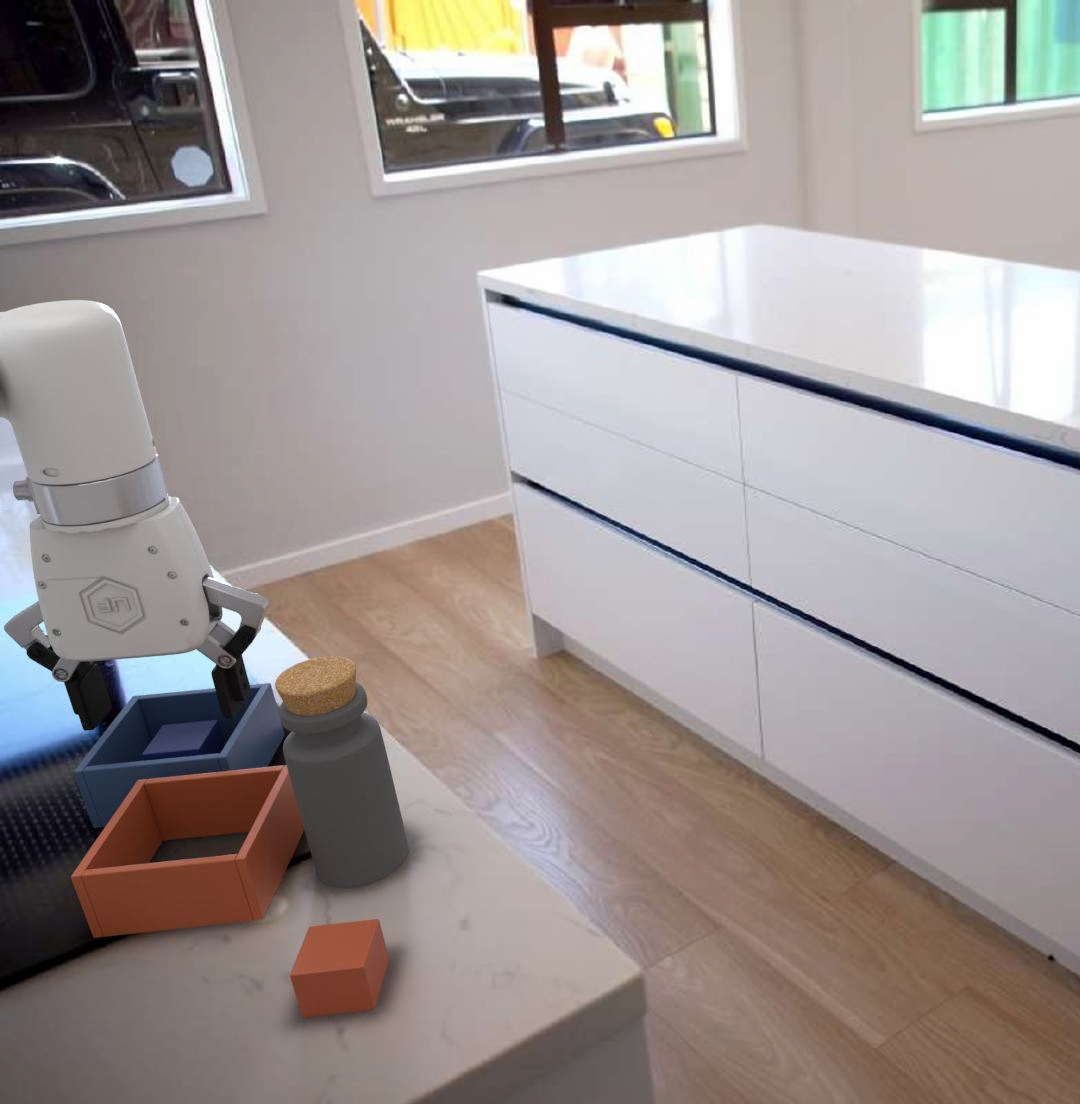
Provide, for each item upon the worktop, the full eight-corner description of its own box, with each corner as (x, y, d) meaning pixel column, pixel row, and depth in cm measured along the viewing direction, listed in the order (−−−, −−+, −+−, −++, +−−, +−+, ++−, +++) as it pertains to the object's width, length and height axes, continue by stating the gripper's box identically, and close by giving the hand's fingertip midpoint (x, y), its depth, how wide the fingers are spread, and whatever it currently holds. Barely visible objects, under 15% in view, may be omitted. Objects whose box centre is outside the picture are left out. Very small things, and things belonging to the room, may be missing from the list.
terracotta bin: (97, 949, 78) (70, 876, 75) (160, 847, 87) (137, 779, 84) (266, 931, 78) (244, 858, 76) (311, 831, 87) (292, 764, 85)
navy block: (156, 801, 91) (141, 754, 89) (177, 769, 94) (162, 724, 93) (213, 795, 91) (199, 748, 89) (231, 764, 95) (218, 719, 93)
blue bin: (96, 838, 88) (72, 772, 86) (153, 757, 97) (132, 695, 95) (246, 823, 89) (226, 756, 86) (287, 744, 98) (270, 682, 96)
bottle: (300, 894, 81) (243, 694, 75) (352, 838, 86) (302, 647, 80) (380, 904, 80) (329, 702, 74) (428, 847, 85) (383, 654, 79)
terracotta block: (305, 1030, 70) (289, 975, 69) (323, 979, 74) (308, 925, 72) (378, 1021, 71) (363, 966, 69) (392, 971, 74) (379, 918, 73)
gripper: (-66, 523, 79) (16, 754, 86) (217, 503, 80) (275, 732, 87) (-6, 481, 86) (66, 698, 93) (254, 463, 87) (305, 678, 94)
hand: (167, 714), depth 90 cm, fingers open, 9 cm apart
